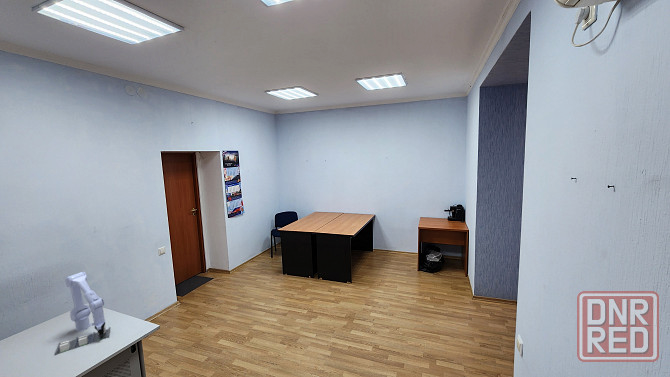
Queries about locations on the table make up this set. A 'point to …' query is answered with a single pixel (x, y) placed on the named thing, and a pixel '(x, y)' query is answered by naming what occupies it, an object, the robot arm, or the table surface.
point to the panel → (91, 339)
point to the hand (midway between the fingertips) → (101, 333)
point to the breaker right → (64, 346)
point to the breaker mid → (83, 340)
